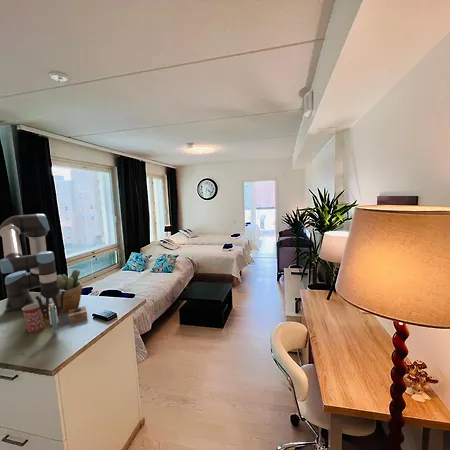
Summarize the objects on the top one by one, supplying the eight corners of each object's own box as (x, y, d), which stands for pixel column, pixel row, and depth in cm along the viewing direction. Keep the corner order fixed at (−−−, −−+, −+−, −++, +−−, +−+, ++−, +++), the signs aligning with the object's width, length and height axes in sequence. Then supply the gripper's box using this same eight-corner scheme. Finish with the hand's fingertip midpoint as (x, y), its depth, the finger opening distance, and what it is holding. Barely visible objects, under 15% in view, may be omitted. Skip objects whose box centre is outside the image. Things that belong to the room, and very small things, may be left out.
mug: (35, 334, 138) (31, 310, 136) (21, 333, 140) (17, 309, 138) (54, 322, 150) (51, 300, 148) (41, 321, 152) (38, 299, 150)
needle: (52, 328, 139) (49, 304, 137) (58, 327, 141) (54, 303, 139) (52, 330, 137) (48, 305, 135) (58, 329, 138) (54, 304, 137)
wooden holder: (69, 318, 154) (68, 310, 154) (86, 313, 159) (85, 306, 158) (69, 324, 147) (68, 316, 146) (87, 319, 151) (86, 311, 151)
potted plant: (66, 317, 155) (61, 278, 152) (44, 314, 161) (38, 276, 158) (90, 304, 172) (86, 268, 169) (70, 302, 178) (65, 267, 175)
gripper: (29, 286, 128) (36, 330, 131) (65, 279, 136) (70, 321, 139) (31, 282, 134) (37, 324, 138) (65, 276, 142) (70, 315, 145)
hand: (54, 322), depth 138 cm, fingers closed on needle, 2 cm apart
